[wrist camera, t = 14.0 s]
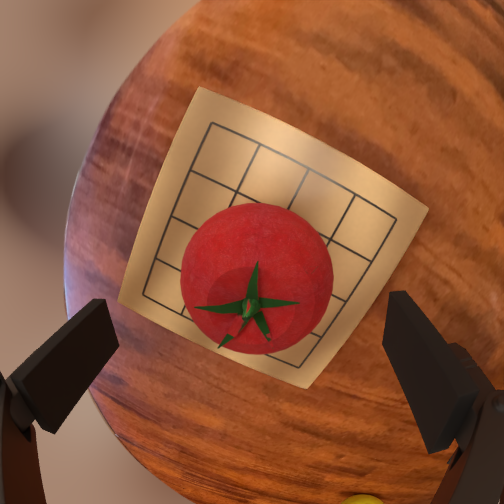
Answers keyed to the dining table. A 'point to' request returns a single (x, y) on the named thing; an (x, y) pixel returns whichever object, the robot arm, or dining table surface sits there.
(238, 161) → the board
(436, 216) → the dining table surface
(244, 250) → the tomato
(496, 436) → the robot arm
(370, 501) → the fruit
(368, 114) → the dining table surface
